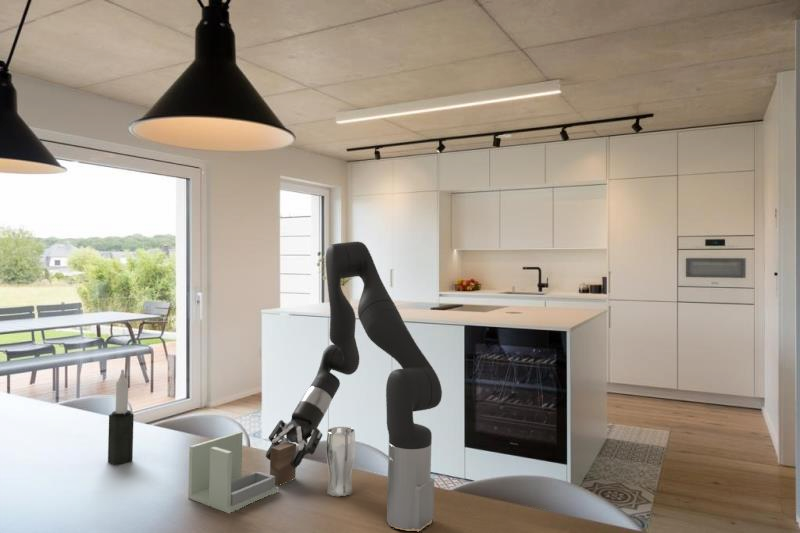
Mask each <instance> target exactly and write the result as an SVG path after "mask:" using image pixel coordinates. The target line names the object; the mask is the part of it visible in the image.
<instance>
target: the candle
mask: <svg viewBox="0 0 800 533" xmlns="http://www.w3.org/2000/svg"><path fill="white" fill-rule="evenodd" d="M128 400H129V381H128V379H127V378H126V375H125V370H124V369H121V370H120V375H119V377H118V379H117V381H116V384H115V410H114V411H112V412H111V413H110V414H108V438H107V439H108V440H107V441H108V446H107V448H108V449H107V463H109V464H110V463H111V464H110V465H112V464H113V466H120V465H123V464H127V463H131V462H133V458H134V457H133V455H134V454H133V453H134V452H133V451H134V450H133V448H134V421H135V420H134V418H135V417H134V416H135V414H134V413H131V412H132V411H131V410H129V409H128V405H129V404H128Z"/></svg>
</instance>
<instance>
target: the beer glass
mask: <svg viewBox="0 0 800 533" xmlns="http://www.w3.org/2000/svg"><path fill="white" fill-rule="evenodd" d="M325 451H326V462H327V468H328V469H327V471H328V485H327V490H326V493H327V495H328V494H330V495H334V496H344V495H348V494H350V495H352V494H353V487H352V471H353V466H354V462H355V461H354V460H355V455H356V431H355V429H354V428H352V427H348V426H335V427H331V428H329V429H328V430H327V437H326V450H325ZM351 493H352V494H351ZM330 495H329V496H330Z"/></svg>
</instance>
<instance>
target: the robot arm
mask: <svg viewBox="0 0 800 533" xmlns="http://www.w3.org/2000/svg"><path fill="white" fill-rule="evenodd" d="M325 270H326V271H325V272H326V281H327V292H328V293H327V294H328V301H329V315H330V316H329V340H330V342H331V343H332V344H329V345H328V346H327V347H326V348H325V349H324V351H323V353H322V357H321V361H320V365H319V367H318V371H317V373H316V376H315V377H314V380H313V381H312V383H311V384H310V386H309V388H308V389H307V390H306V391H305V393H304V394H303V396H302V397H301V399H300V400H299V403H298V404H297V406H296V407H295V409H294V411H293V412H292V414H291V420H289V422H288V423H287V422H284V420H282V419H281V420H279V421H278V423H277V424H276V426H275V427H274V429H273V430H272V432H271V433H270V435H269V436H268V438H267V439H268V440H269V441H270V442H271V444H270V446H269V447H268V449H267V451H266V453H265V458H266V459H267V460H269V461H270V455H271V447H274V446H277V445H280V444H282V443H285V442H291V443H295V444H296V445H298V449H296V454H295V455H294V457H293V459H292V460H291V462H290V464H291V465H292V466H293V467H294V468H296V469H297V467H298V466H300V465H301V463H302V461H303V459H304V457H305V456H306V455H308V454H309V455H313V454H314V453H315V452H316V451H317V450H316V449H317V447H318V445H319V444H320V441H321V439H322V437H323V433H322V432H321V430H320V429H319V428H318V427H319V426H320V424H321V422H322V420H323V418H324V416H326V415H325V414H326V413H327V411H328V409H329V407H330V406H331V403H332V401H333V399H334V397H335V395H336V393H337V392H338V390H339V388H340V384H341V382H340V379H339V378H338V377H337V376H336V375H335V374H333V373H332V372H331V371H335V372H337V373H340V374H343V375H346V376H347V375H348V376H350V375H353V374H354V373H355V372H356V371H357V370H358V368H359V365H360V353H359V348H358V345H357V339H356V337H355V336H356V334H355V333H356V320H357V318H356V313H355V311H354V308H353V306H352V305H351V303H350V301H349V300H348V299H347V297H346V295H345V294H344V292H343V290H342V286H341V285H342V284H341V281H342V279H347V278H354V277H359V278H360V279H361V280H362V282H363V290H362V292H361V295H360V298H359V302H358V307H357V316H358V319H359V321H360V323H361V326H362V328H363V330H364V332H365V333H366V335H367V337H368V339H369V340H370V341H371V342H372V343H374V344H375V345H376V346H377V347H378V348H379V349H380V350H382V351H384V352H385V353H386V354H388V355H389V356H390V357H391V358H393V359H394V360H395V361H396V362H397V363H398V364H399V366H400V367H401V368H397V369H394V370H392V371H391V372H390V373H389V375H388V377H387V380H386V384H385V385H386V387H385V388H386V389H385V399H386V400H385V403H386V404H385V405H386V406H385V407H386V428H387V432H388V452H387V453H388V460H387V464H388V465H387V492H386V493H387V495H386V497H387V498H386V523H387V522H388V523H389V524H390V525H392V526H394V527H398V528H402V529H412V528H414V529H421V528H422V527H423V526H425V525H426V524H427V523H429V522H430V521H431V520H432V519H433V520H434V510H435V509H434V508H435V507H434V505H435V479H434V477H433V478H432V476H431V474H432V473H431V472H432V464H431V463H432V440H433V439H432V438H433V436H432V434H433V433H432V431H431V429H430V428H429V427H427V426H425V425H422V424H418V423H416V422H414V412H420V411H426V410H430V409H434V408H436V407H438V406H439V404H440V403H441V401H442V396H443V389H442V385H441V381H440V379H439V377H438V374H437V373H436V370H435V369H434V367H433V366H432V365H431V363H430V362H429V360H428V359H427V357H426V356H425V354H424V353H423V352H422V351H421V349H420V347H419V346H418V344H417V343H416V341H415V339H414V338H413V336H412V334H411V333H410V331H409V329H408V328H407V325H406V324H405V322H404V320H403V318H402V316H401V314H400V312H399V309H398V308H397V306H396V304H395V302H394V301H393V299H392V297H391V296H390V294H389V293H388V291H387V288H386V286H385V285H384V283H383V281H382V279H381V277H380V274H379V271H378V269H377V267H376V264H375V262H374V259H373V257H372V254H371V253H370V250H369V249H368V247H367V246H366V244H365V243H363V241H347V242H340V243H339V242H338V243H333V244H330V245H328V247H327V249H326V253H325Z"/></svg>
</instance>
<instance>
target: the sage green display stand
mask: <svg viewBox="0 0 800 533" xmlns="http://www.w3.org/2000/svg"><path fill="white" fill-rule="evenodd" d="M243 434H244V433H243V431H238V432H234V433H230V434H228V435H223V436H221V437H217V438H214V439H210V440H206V441H203V442H200V443H197V444H194V445H190V446H189V453H188V454H189V456H188V457H189V459H188V461H189V462H188V497H187V498H188V499H190V500H193V501H195V502H197V503H201V504H203V505H205V506H209V507H210V506H211V507H210V508H214V509H216V510H218V511H222V512H224V513H226V514H232V513H234V512H236V511H239V510H240V508H241V509H242V507H243V508H245V507H247V506H246V505H248V504H250V503H252V504H254V503H255V502H254V501H257V500H259V499H261V498H263V499H265V498H264V497H266V496H268V495H270V496H272V495H274V494H273V493H275V492H277V491H279V489H280V488H279V486H276V485H275V476H273V475H270V473H265V472H262V471H260V470H259V471H255V472H251V473H250V472H249V473H248V474H245V475H242V467H243V466H242V465H243V464H242V462H243ZM279 492H280V491H279ZM277 493H278V492H277ZM271 494H272V495H271ZM275 494H276V493H275ZM268 497H269V496H268ZM266 498H267V497H266ZM261 500H262V499H261ZM259 501H260V500H259ZM253 502H254V503H253ZM257 502H258V501H257ZM250 505H251V504H250ZM244 506H245V507H244ZM248 506H249V505H248ZM235 510H236V511H235ZM231 512H232V513H231Z"/></svg>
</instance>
